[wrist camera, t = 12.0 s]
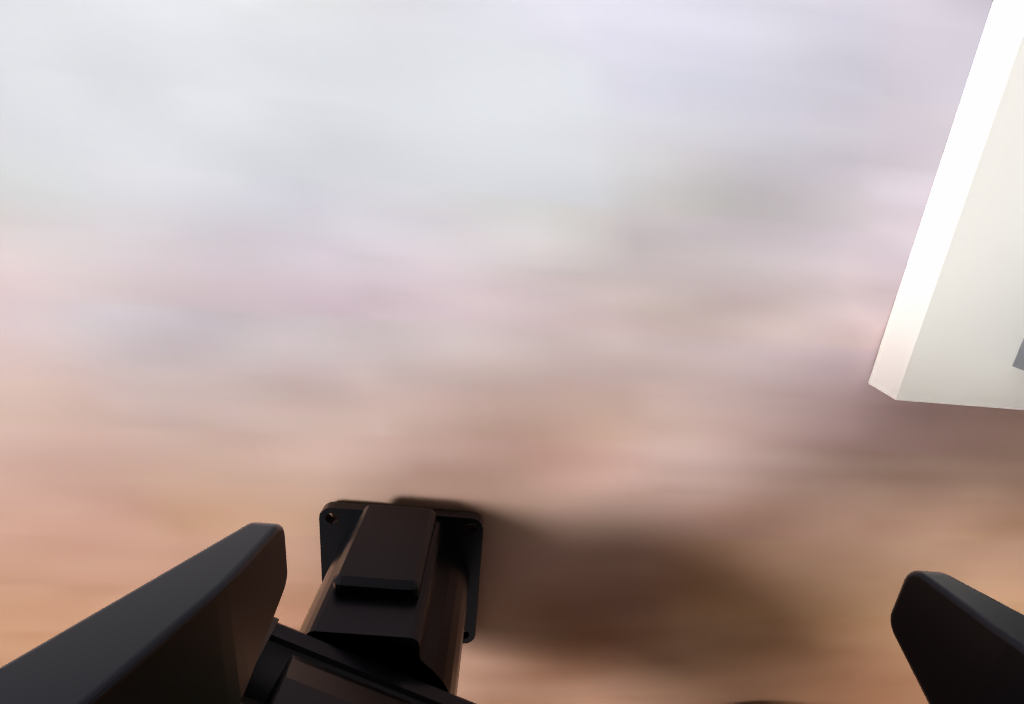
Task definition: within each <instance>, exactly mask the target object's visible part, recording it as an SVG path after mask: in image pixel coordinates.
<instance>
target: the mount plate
mask: <svg viewBox="0 0 1024 704" xmlns="http://www.w3.org/2000/svg"><path fill="white" fill-rule="evenodd" d="M1023 339H1024V0H993V3H992V6H991V9H990V12H989V15H988V18H987V22H986V25H985V28H984V31H983V34H982V37H981V40H980V43H979V46H978V49H977V52H976V55H975V58H974V61H973V64H972V67H971V70H970V73H969V77H968V80H967V83H966V86H965V89H964V92H963V95H962V98H961V101H960V104H959V107H958V110H957V113H956V116H955V119H954V122H953V125H952V128H951V131H950V135H949V138H948V141H947V144H946V147H945V150H944V153H943V156H942V159H941V162H940V165H939V168H938V171H937V174H936V177H935V180H934V183H933V186H932V190H931V193H930V196H929V199H928V202H927V205H926V208H925V211H924V214H923V217H922V220H921V223H920V226H919V229H918V232H917V235H916V238H915V241H914V245H913V248H912V251H911V254H910V257H909V260H908V263H907V266H906V269H905V272H904V275H903V278H902V281H901V284H900V287H899V290H898V293H897V296H896V299H895V303H894V306H893V309H892V312H891V315H890V318H889V321H888V324H887V327H886V330H885V333H884V336H883V339H882V342H881V345H880V348H879V351H878V354H877V358H876V361H875V364H874V367H873V370H872V373H871V376H870V379H869V382H868V383H869V384H870V385H872V386H874V387H875V388H877V389H878V390H880V391H882V392H883V393H885V394H887V395H888V396H890V397H892V398H893V399H895V400H902V401H915V402H928V403H940V404H953V405H965V406H978V407H990V408H1003V409H1016V410H1024V371H1023V370H1021V369H1018V368H1016V367H1013V366H1012V365H1013V363H1014V360H1015V358H1016V356H1017V353H1018V351H1019V348H1020V346H1021V344H1022V341H1023Z"/></svg>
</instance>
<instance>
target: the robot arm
mask: <svg viewBox="0 0 1024 704" xmlns="http://www.w3.org/2000/svg"><path fill="white" fill-rule="evenodd" d="M329 513H333V514H336V515H337V516H338V517H337V518H335V517H332V516H331V515H330V514H329ZM319 522H320V545H321V567H322V584H321V586H320V588H319V590H318V592H317V595H316V597H315V599H314V601H313V603H312V605H311V607H310V609H309V612H308V614H307V616H306V618H305V620H304V622H303V624H302V626H301V629H300V631H297V630H295V629H292V628H290V627H287V626H285V625H283V624H280V623H278V621H279V619H278V618H275V617H274V614H275V612H276V609H277V606H278V604H279V601H280V598H281V596H282V593H283V590H284V588H285V584H286V579H287V562H286V548H285V535H284V530H283V528H282V527H281V526H280V525H279V524H270V523H250V524H248V525H246V526H245V527H243V528H241V529H239V530H238V531H236V532H234V533H232V534H231V535H229V536H227V537H226V538H224V539H222V540H220V541H219V542H217V543H215V544H213V545H212V546H210V547H208V548H207V549H205V550H203V551H201V552H200V553H198V554H196V555H194V556H193V557H191V558H189V559H188V560H186V561H184V562H182V563H181V564H179V565H177V566H176V567H174V568H172V569H170V570H169V571H167V572H165V573H163V574H162V575H160V576H158V577H157V578H155V579H153V580H151V581H150V582H148V583H146V584H144V585H143V586H141V587H139V588H138V589H136V590H134V591H132V592H131V593H129V594H127V595H125V596H124V597H122V598H120V599H119V600H117V601H115V602H113V603H112V604H110V605H108V606H106V607H105V608H103V609H101V610H100V611H98V612H96V613H94V614H93V615H91V616H89V617H87V618H86V619H84V620H82V621H81V622H79V623H77V624H75V625H74V626H72V627H70V628H68V629H67V630H65V631H63V632H62V633H60V634H58V635H56V636H55V637H53V638H51V639H49V640H48V641H46V642H44V643H43V644H41V645H39V646H37V647H36V648H34V649H32V650H30V651H29V652H27V653H25V654H24V655H22V656H20V657H18V658H17V659H15V660H13V661H11V662H10V663H8V664H6V665H5V666H3V667H1V668H0V704H476V703H473V702H471V701H468V700H466V699H464V698H461V697H459V696H456V695H457V687H458V678H459V669H460V660H461V652H462V643H469V642H471V641H472V640H473V639H474V637H475V629H476V616H477V603H478V590H479V577H480V564H481V551H482V538H483V525H484V522H483V519H482V517H481V516H480V515H479V514H477V513H474V512H465V511H452V510H438V509H430V508H421V507H408V506H394V505H381V504H358V503H344V502H330V503H328V504H326V505H325V506H324V508H323V509H322V511H321V513H320V517H319ZM469 523H472V524H474V525H475V527H473V528H470V527H468V526H466V525H467V524H469ZM891 626H892V630H893V633H894V635H895V637H896V639H897V641H898V643H899V645H900V647H901V649H902V651H903V653H904V655H905V657H906V659H907V661H908V663H909V665H910V667H911V669H912V671H913V673H914V675H915V677H916V679H917V681H918V683H919V685H920V687H921V689H922V691H923V692H924V694H925V696H926V698H927V700H928V702H929V704H1024V615H1022V614H1020V613H1019V612H1017V611H1015V610H1013V609H1011V608H1009V607H1007V606H1005V605H1004V604H1002V603H1000V602H998V601H996V600H994V599H992V598H990V597H988V596H987V595H985V594H983V593H981V592H979V591H977V590H975V589H973V588H972V587H970V586H968V585H966V584H964V583H962V582H960V581H958V580H956V579H955V578H953V577H951V576H949V575H947V574H944V573H940V572H928V571H913V572H911V573H910V574H908V575H907V576H906V578H905V580H904V583H903V585H902V588H901V590H900V593H899V595H898V598H897V600H896V602H895V605H894V607H893V610H892V613H891ZM464 630H465V632H464Z"/></svg>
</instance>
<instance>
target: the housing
mask: <svg viewBox="0 0 1024 704" xmlns="http://www.w3.org/2000/svg"><path fill="white" fill-rule="evenodd" d="M1012 366H1013V367H1016V368H1018V369H1021V370H1023V371H1024V339H1023V341H1022V344H1021V346H1020V348H1019V351H1018V353H1017V356H1016V358H1015V360H1014V363H1013V365H1012Z"/></svg>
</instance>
